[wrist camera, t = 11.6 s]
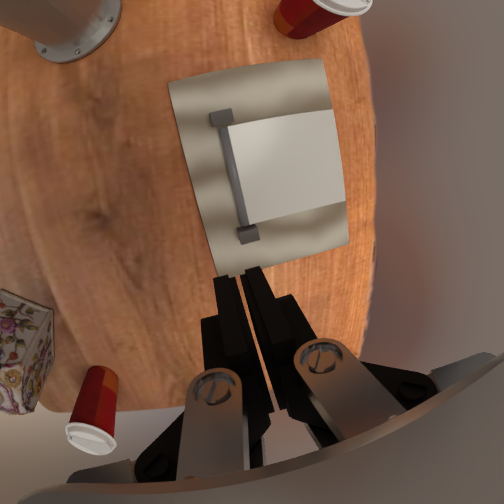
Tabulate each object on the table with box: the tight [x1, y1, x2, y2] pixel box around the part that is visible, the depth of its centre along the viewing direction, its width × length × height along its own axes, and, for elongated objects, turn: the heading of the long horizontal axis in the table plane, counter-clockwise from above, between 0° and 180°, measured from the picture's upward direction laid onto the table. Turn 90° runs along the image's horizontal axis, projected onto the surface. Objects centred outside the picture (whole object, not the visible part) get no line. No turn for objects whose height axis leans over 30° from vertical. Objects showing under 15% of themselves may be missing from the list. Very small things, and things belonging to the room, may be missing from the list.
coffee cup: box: [65, 366, 118, 455], centre depth 37 cm, size 8×8×15 cm
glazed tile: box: [218, 109, 346, 226], centre depth 34 cm, size 12×1×14 cm
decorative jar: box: [0, 289, 55, 415], centre depth 29 cm, size 12×12×18 cm
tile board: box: [168, 58, 349, 278], centre depth 34 cm, size 26×19×3 cm
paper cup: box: [274, 0, 372, 39], centre depth 22 cm, size 8×8×14 cm
